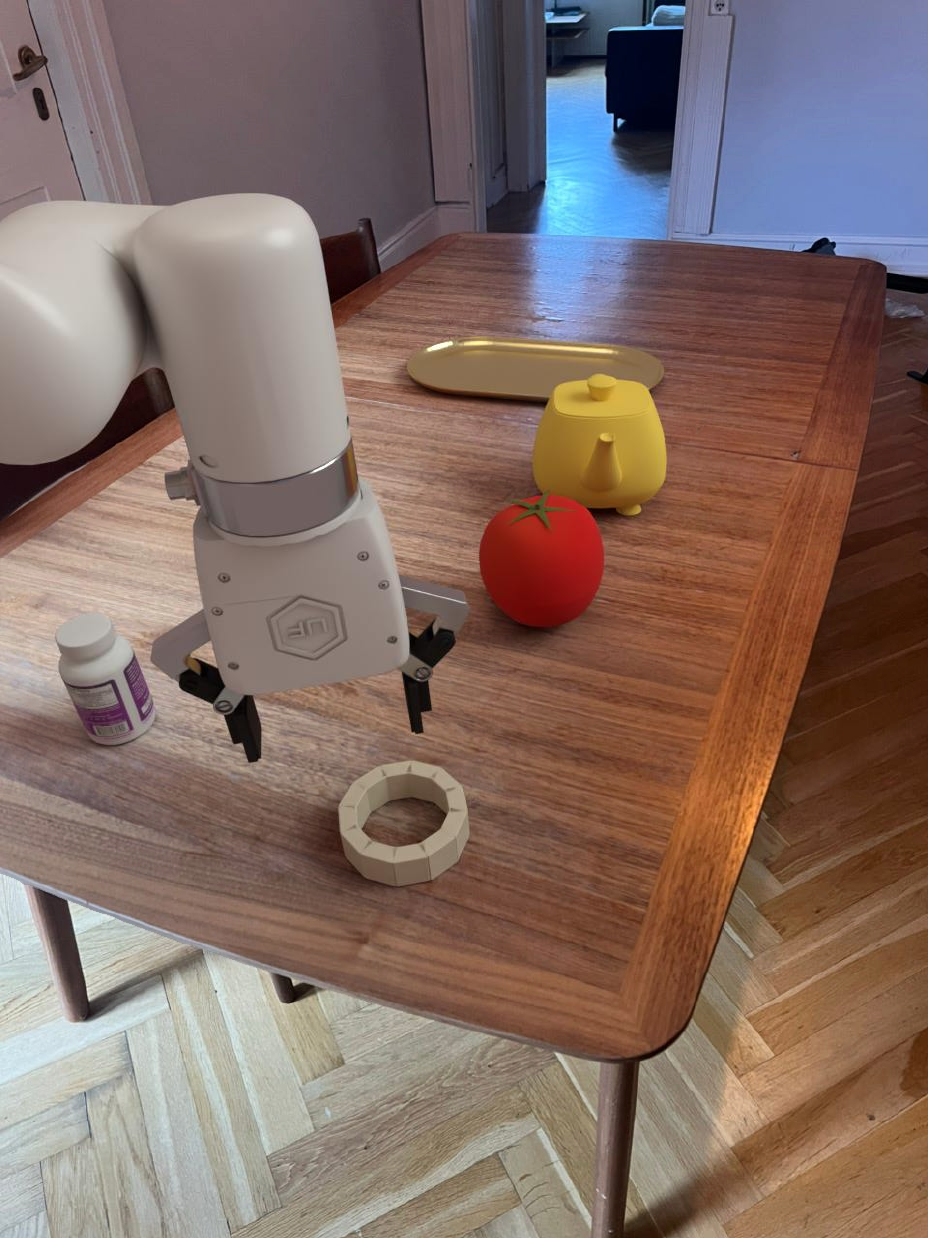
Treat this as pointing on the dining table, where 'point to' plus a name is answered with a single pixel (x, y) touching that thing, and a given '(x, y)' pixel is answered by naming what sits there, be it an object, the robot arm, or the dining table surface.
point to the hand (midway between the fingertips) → (336, 731)
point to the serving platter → (525, 366)
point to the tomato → (542, 560)
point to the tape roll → (412, 859)
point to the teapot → (600, 444)
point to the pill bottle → (104, 680)
